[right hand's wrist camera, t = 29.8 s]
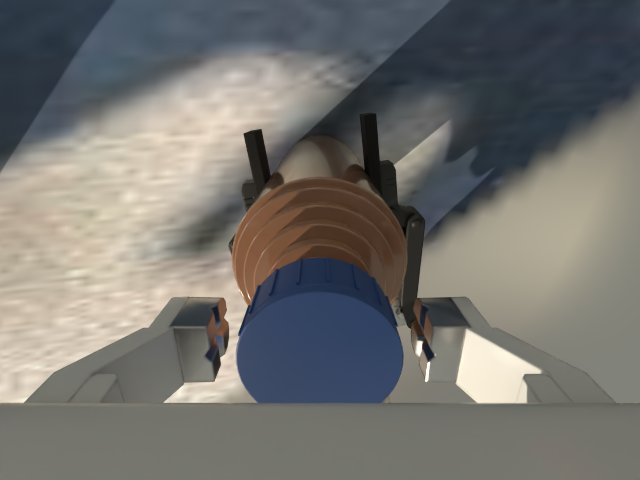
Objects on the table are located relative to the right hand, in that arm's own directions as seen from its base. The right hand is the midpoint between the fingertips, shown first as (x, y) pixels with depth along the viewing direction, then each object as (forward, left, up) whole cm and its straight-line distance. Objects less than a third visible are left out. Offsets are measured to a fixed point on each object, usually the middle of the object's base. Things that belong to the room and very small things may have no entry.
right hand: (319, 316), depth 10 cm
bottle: (0, 0, -22) cm, 22 cm away
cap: (0, 0, +2) cm, 2 cm away
